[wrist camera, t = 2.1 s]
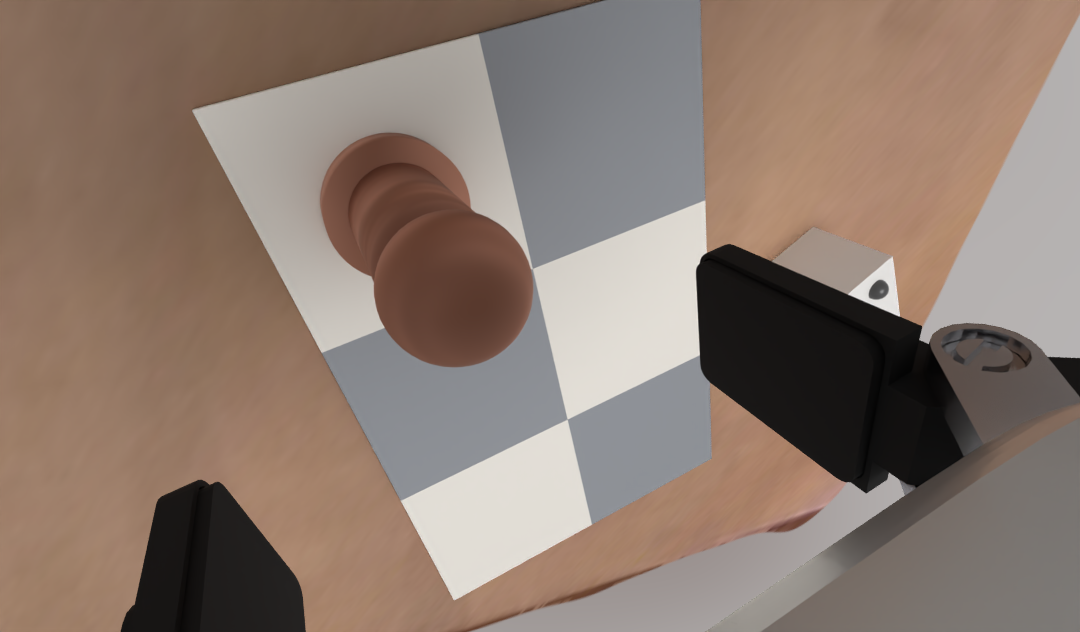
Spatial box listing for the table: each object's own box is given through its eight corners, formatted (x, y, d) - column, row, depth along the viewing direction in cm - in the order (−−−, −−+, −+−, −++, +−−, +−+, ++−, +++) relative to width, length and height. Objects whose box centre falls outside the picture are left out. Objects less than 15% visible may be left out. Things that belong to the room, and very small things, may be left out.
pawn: (439, 114, 19) (562, 177, 11) (475, 242, 22) (595, 365, 14) (294, 158, 18) (317, 264, 10) (353, 288, 21) (408, 452, 13)
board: (693, -24, 21) (699, -25, 21) (707, 454, 37) (711, 458, 37) (193, 108, 17) (192, 110, 16) (452, 594, 32) (454, 600, 32)
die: (812, 226, 31) (902, 259, 27) (825, 283, 34) (909, 322, 30) (747, 280, 31) (828, 323, 26) (767, 333, 34) (842, 380, 29)
